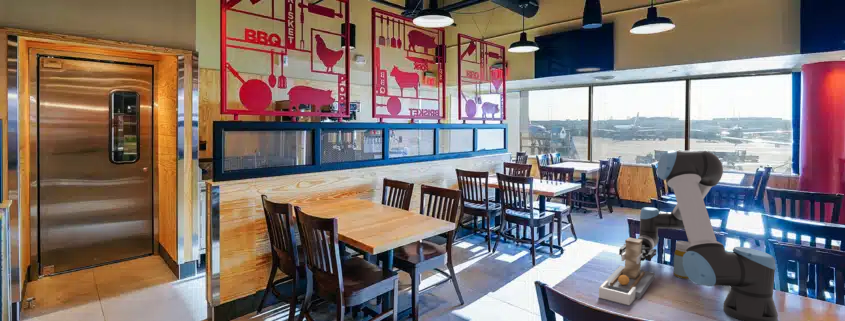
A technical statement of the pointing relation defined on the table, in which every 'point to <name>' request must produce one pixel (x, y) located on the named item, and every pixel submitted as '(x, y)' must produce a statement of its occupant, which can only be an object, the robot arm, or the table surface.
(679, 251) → the bottle
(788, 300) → the table surface
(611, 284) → the lane rails
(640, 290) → the platform
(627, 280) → the ball
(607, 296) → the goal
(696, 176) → the robot arm
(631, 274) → the tan tall block
